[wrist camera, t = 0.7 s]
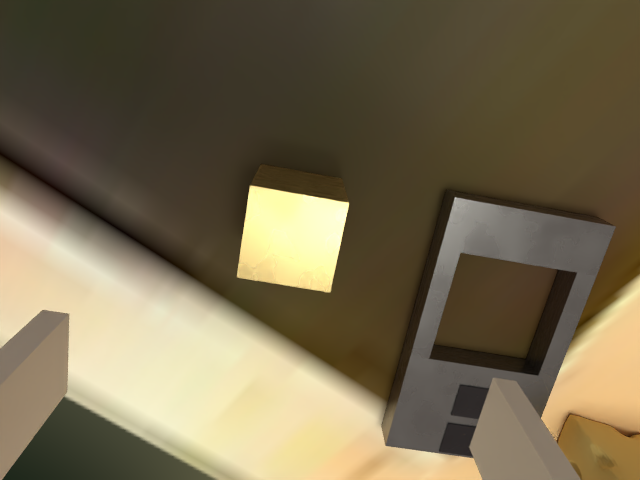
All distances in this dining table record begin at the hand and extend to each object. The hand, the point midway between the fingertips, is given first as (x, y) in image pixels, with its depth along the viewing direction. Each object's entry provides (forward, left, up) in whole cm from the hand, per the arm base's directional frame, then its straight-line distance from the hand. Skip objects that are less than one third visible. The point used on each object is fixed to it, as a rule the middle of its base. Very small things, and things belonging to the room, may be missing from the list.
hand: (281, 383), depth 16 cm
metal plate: (+5, +14, -17) cm, 23 cm away
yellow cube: (-1, 0, -17) cm, 17 cm away
